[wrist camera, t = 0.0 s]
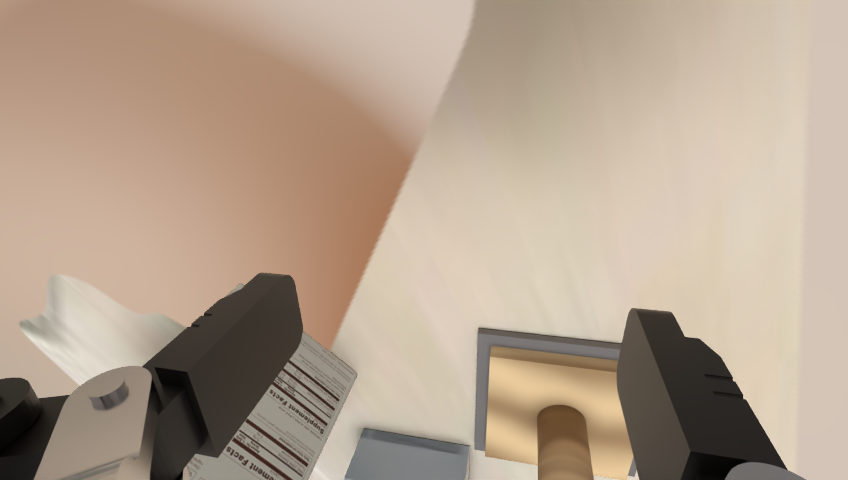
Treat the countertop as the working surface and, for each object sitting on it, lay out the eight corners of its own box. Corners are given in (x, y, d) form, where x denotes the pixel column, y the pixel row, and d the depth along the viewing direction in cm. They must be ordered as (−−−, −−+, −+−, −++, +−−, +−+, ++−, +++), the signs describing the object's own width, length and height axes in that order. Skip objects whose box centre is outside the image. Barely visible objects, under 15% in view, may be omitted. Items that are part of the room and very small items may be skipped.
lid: (491, 345, 32) (481, 426, 25) (652, 364, 29) (685, 459, 23) (486, 443, 37) (477, 531, 30) (623, 466, 34) (643, 566, 28)
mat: (478, 328, 32) (478, 333, 31) (669, 349, 29) (671, 355, 29) (475, 443, 38) (474, 449, 37) (632, 469, 35) (634, 476, 35)
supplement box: (273, 448, 45) (138, 677, 30) (168, 374, 43) (-37, 578, 28) (364, 374, 37) (243, 638, 21) (239, 277, 35) (4, 492, 19)
